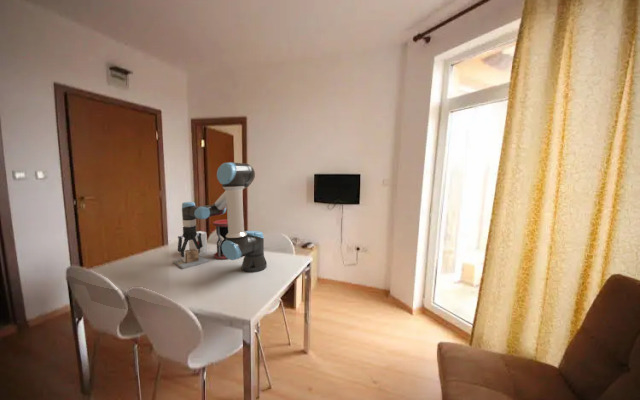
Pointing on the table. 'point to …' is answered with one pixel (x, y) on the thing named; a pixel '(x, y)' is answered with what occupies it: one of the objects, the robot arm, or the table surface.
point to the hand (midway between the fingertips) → (190, 259)
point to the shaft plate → (194, 263)
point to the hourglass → (223, 231)
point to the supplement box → (204, 242)
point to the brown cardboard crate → (191, 255)
